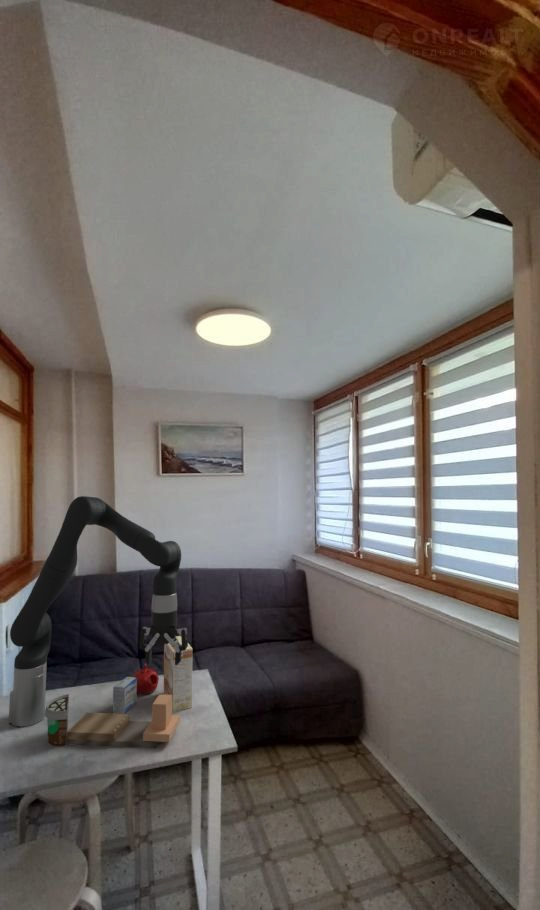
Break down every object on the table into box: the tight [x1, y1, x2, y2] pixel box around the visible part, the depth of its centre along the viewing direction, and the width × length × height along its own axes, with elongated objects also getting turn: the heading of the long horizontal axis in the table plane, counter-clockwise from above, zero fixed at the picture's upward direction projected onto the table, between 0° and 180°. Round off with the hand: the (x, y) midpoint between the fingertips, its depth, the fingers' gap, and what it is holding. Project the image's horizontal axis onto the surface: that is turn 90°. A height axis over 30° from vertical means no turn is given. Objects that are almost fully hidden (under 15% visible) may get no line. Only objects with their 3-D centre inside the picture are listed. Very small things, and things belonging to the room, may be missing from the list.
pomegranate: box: [132, 663, 160, 695], centre depth 157 cm, size 10×10×9 cm
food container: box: [44, 693, 70, 747], centre depth 126 cm, size 12×6×10 cm, turn 23°
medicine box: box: [112, 676, 138, 714], centre depth 144 cm, size 8×4×9 cm, turn 168°
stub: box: [143, 694, 181, 743], centre depth 127 cm, size 8×11×9 cm
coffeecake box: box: [163, 635, 193, 713], centre depth 150 cm, size 15×7×20 cm, turn 25°
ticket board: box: [66, 712, 160, 749], centre depth 128 cm, size 26×11×4 cm, turn 86°
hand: (163, 663), depth 128 cm, fingers open, 8 cm apart
